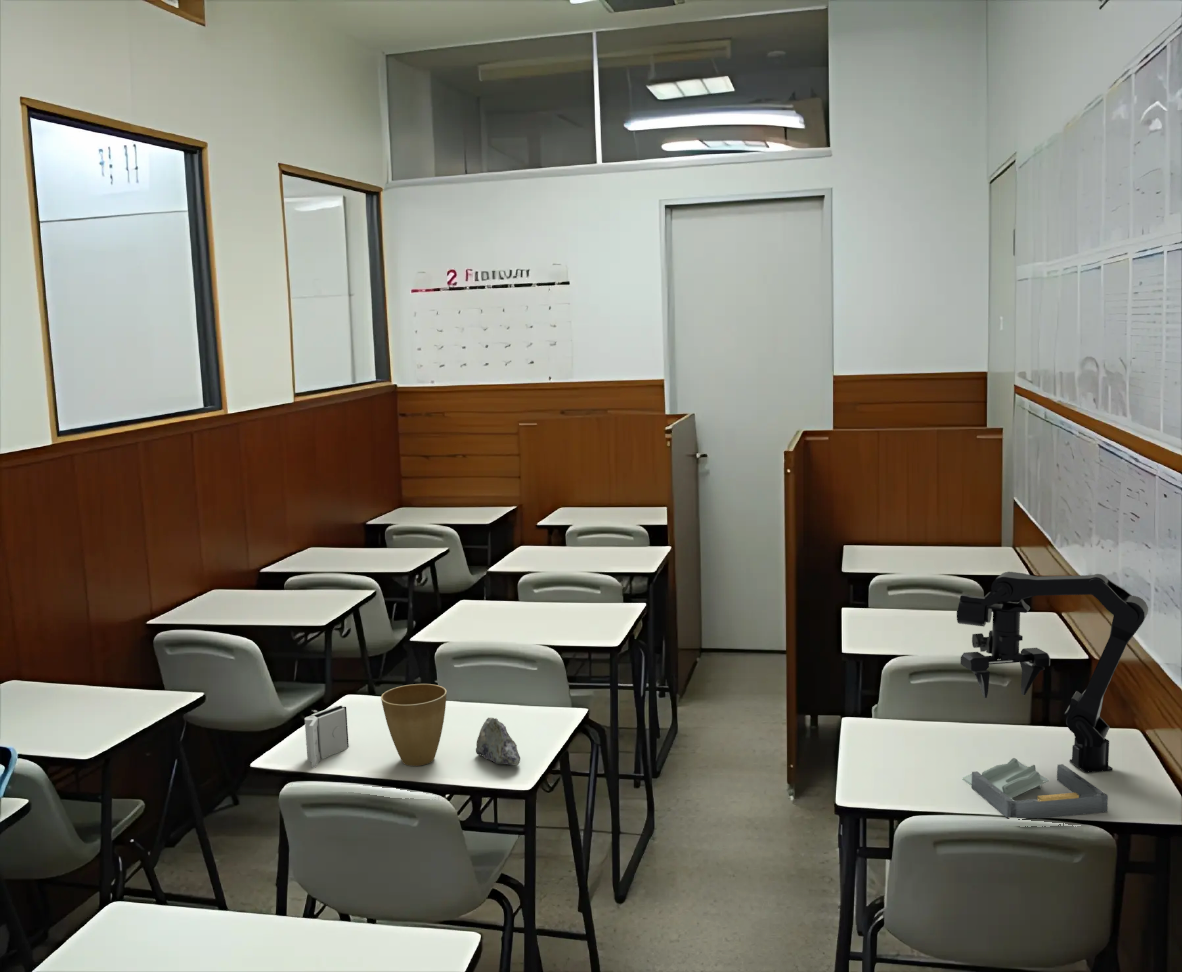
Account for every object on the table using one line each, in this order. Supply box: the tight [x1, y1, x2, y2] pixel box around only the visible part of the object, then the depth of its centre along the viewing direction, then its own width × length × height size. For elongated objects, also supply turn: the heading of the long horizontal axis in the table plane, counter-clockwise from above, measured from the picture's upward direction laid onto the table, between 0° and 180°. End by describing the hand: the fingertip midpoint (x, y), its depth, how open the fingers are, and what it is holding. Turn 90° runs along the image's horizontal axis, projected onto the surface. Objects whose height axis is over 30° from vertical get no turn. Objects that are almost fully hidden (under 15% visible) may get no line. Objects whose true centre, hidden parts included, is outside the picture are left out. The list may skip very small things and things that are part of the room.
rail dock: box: [971, 763, 1109, 819], centre depth 224 cm, size 20×16×4 cm
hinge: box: [304, 705, 350, 769], centre depth 258 cm, size 13×8×10 cm, turn 0°
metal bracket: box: [961, 757, 1049, 801], centre depth 230 cm, size 14×6×15 cm
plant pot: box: [380, 683, 448, 767], centre depth 253 cm, size 15×15×16 cm
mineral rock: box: [475, 717, 521, 766], centre depth 251 cm, size 13×11×10 cm
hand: (1004, 696), depth 248 cm, fingers open, 9 cm apart
